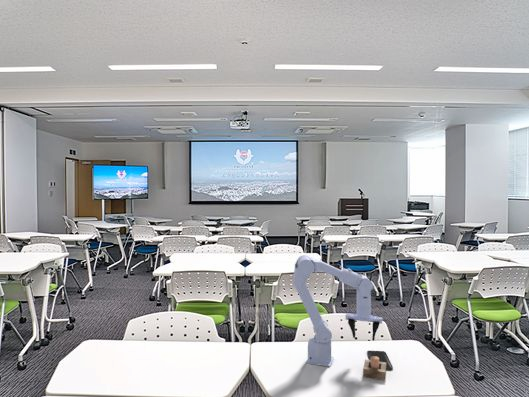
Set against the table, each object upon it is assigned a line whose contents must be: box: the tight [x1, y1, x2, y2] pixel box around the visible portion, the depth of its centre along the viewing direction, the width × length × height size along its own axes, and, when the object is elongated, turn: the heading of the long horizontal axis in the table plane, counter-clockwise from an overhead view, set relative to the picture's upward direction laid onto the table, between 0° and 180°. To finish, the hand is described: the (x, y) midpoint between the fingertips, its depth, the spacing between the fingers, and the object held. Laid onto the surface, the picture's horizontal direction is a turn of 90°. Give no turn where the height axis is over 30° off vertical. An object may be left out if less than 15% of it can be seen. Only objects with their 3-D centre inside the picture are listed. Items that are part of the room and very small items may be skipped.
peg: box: [371, 356, 379, 369], centre depth 142 cm, size 3×3×6 cm
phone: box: [366, 350, 394, 371], centre depth 152 cm, size 8×1×15 cm
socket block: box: [362, 359, 387, 381], centre depth 142 cm, size 8×8×3 cm
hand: (363, 338), depth 152 cm, fingers open, 7 cm apart
